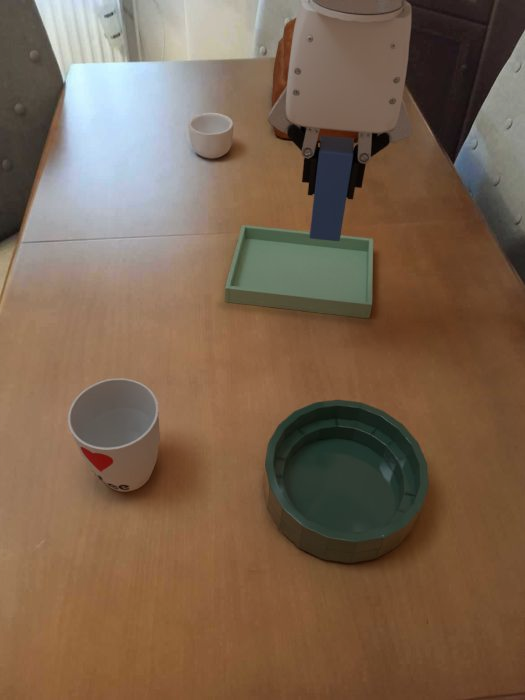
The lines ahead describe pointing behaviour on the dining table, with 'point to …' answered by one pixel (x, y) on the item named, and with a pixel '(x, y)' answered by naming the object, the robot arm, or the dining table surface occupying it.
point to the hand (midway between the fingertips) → (330, 188)
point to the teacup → (211, 134)
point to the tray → (301, 272)
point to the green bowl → (344, 480)
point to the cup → (117, 431)
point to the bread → (282, 77)
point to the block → (331, 187)
